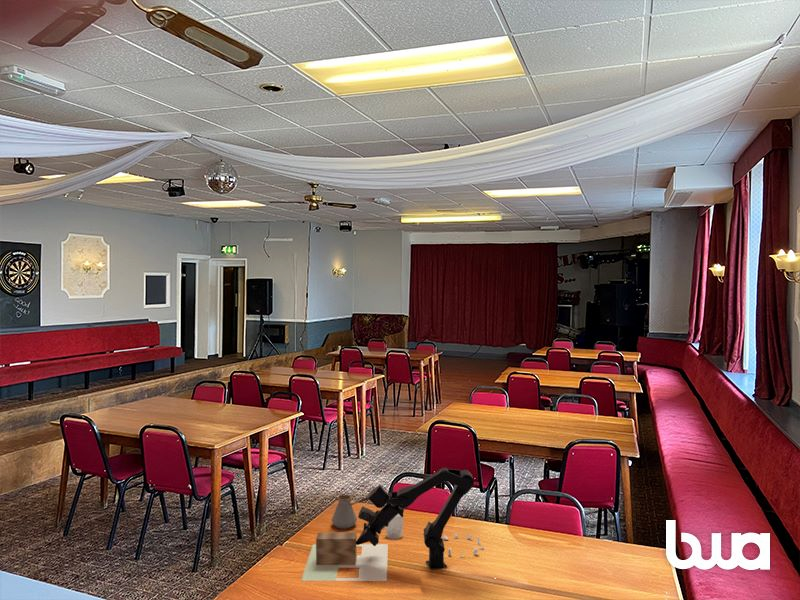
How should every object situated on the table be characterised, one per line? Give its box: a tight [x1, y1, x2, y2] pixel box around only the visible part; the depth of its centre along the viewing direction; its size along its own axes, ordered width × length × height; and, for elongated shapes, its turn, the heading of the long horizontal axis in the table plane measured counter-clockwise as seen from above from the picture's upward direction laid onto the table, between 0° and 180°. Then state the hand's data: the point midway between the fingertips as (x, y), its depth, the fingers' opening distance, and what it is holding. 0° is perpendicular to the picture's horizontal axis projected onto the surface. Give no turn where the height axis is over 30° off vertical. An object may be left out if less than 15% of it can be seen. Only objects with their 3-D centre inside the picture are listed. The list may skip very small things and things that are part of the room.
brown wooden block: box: [315, 531, 358, 565], centre depth 226 cm, size 15×6×10 cm, turn 90°
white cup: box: [385, 514, 404, 540], centre depth 253 cm, size 8×8×10 cm
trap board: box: [301, 543, 389, 582], centre depth 227 cm, size 31×30×2 cm
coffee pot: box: [331, 494, 370, 530], centre depth 263 cm, size 21×12×15 cm, turn 79°
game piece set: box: [442, 531, 485, 558], centre depth 243 cm, size 19×20×4 cm
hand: (356, 543), depth 226 cm, fingers closed, pressing on brown wooden block
